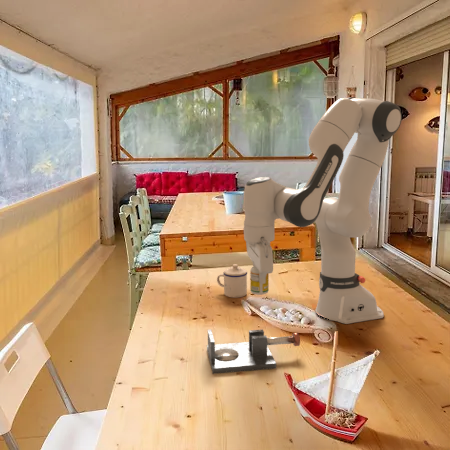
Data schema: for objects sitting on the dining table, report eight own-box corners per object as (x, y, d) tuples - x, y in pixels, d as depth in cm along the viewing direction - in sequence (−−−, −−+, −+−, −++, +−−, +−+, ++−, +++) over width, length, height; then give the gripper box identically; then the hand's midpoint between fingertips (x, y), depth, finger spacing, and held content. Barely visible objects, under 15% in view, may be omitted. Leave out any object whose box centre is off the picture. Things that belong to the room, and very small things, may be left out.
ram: (296, 342, 140) (296, 330, 139) (299, 348, 137) (300, 335, 136) (251, 345, 138) (251, 333, 138) (253, 351, 135) (253, 339, 134)
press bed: (264, 345, 145) (264, 321, 143) (276, 368, 131) (276, 342, 130) (207, 349, 142) (206, 325, 141) (212, 373, 129) (212, 347, 127)
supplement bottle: (251, 295, 144) (251, 263, 142) (249, 289, 149) (248, 258, 147) (270, 294, 144) (270, 263, 142) (266, 288, 149) (266, 258, 147)
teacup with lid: (250, 291, 191) (250, 262, 189) (242, 299, 183) (242, 269, 180) (221, 288, 195) (221, 259, 193) (212, 295, 187) (212, 266, 184)
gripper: (278, 241, 133) (278, 290, 136) (262, 226, 153) (262, 268, 156) (255, 242, 132) (256, 291, 135) (242, 227, 152) (243, 270, 155)
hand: (259, 279), depth 146 cm, fingers closed on supplement bottle, 5 cm apart
